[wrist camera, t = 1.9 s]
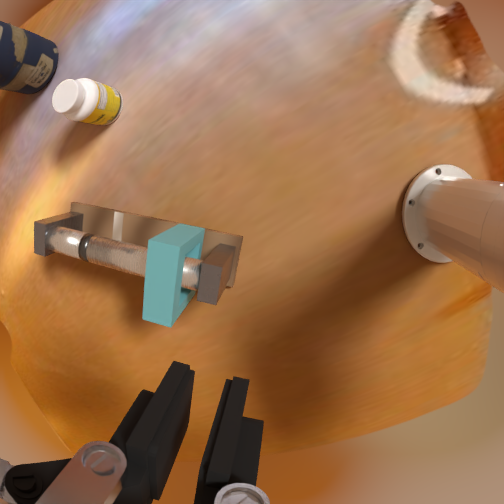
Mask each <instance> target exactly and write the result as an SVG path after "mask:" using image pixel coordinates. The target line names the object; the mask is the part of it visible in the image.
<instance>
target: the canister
mask: <svg viewBox="0 0 504 504" xmlns="http://www.w3.org/2000/svg"><path fill="white" fill-rule="evenodd" d="M57 63H58V49H57V46H56V45H55V44H54V43H53V42H52V41H50V40H48V39H45V38H43V37H41V36H39V35H37V34H35V33H32V32H30V31H27V30H25V29H21V28H18V27H15V26H13V25H11V24H10V23H4V22H2V21H0V89H2V90H8V91H14V92H20V93H25V94H31V93H35V92H37V91H39V90H41V89H42V88H43V87H44V86H45V85H46V84H47V83H48V82H49V80H50V79H51V77H52V76H53V74H54V72H55V69H56V66H57Z"/></svg>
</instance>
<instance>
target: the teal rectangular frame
mask: <svg viewBox="0 0 504 504" xmlns="http://www.w3.org/2000/svg"><path fill="white" fill-rule="evenodd" d="M204 233H205V228H200V227H195V226H190V225H186V224H181V223H180V224H178V225H176V226H174V227H172V228H170V229H168V230H166V231H164V232H162V233H160V234H158V235H157V236H155V237H153V238H151V239H149V240H148V250H147V260H146V272H145V285H144V300H143V319H144V320H147V321H150V322H154V323H157V324H160V325H164V326H167V327H172V325H173V324H174V323H175V321H176V320H177V318H178V317H179V316H180V314H181V313H182V311H183V310H184V309H185V307H186V306H187V305H188V303H189V302H190V300H191V299H192V298H193V296H194V295H195V292H196V291H195V290H191V289H187V288H183V287H181V283H182V275H183V267H184V260H185V256H186V257H191V258H195V259H199V260H200V258H201V251H202V245H203V239H204Z"/></svg>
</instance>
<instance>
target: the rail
mask: <svg viewBox="0 0 504 504" xmlns="http://www.w3.org/2000/svg"><path fill="white" fill-rule="evenodd" d="M83 215H84V214H83V213H78V212H69V213H65V214H61V215H57V216H53V217H50V218H46V219H42V220H39V221H35V222H34V253H36V254H39V255H42V256H48V255H50V254H52V253H55V252H57V253H61V254H64V255H67V256H70V257H74V258H77V259H80V260H84V261H87V262H91V263H94V264H97V265H101V266H104V267H108V268H111V269H115V270H119V271H122V272H126V273H129V274H133V275H137V276H141V277H144V278H145V272H146V260H147V250H148V247H144V246H139V245H135V244H131V243H127V242H123V241H119V240H114V239H110V238H106V237H102V236H98V235H94V234H90V233H86V232H82V231H83ZM235 251H236V247H235V246H231V245H226V244H222V243H220V244H219V245H218V246H217V247H216V248H215V249H214V250H213V251H212V253H211V254H210V255H209V256H208V257H207V258H206V259H205V260H199V259H195V258H191V257H186V256H185V260H184V267H183V275H182V283H181V287H183V288H187V289H191V290H195V291H198V295H197V301H201V302H205V303H209V304H213V305H216V304H217V302H218V301H219V299H220V297H221V295H222V293H223V291H224V289H225V287H226V285H227V283H228V281H229V279H230V277H231V272H232V267H233V261H234V256H235Z"/></svg>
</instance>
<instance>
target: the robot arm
mask: <svg viewBox="0 0 504 504" xmlns="http://www.w3.org/2000/svg"><path fill="white" fill-rule="evenodd" d="M435 170H436V171H437V173H436V172H435ZM409 200H410V201H411V203H410V204H409ZM402 222H403V227H404V232H405V234H406V236H407V239H408V241H409V242H410V244H411V246H412V247H413V248H414V249H415V250H416V251H417V252H418V253H419V254H420V255H422V256H423V257H424V258H426V259H428V260H430V261H434V262H437V263H447V262H452V261H454V262H456V263H458V264H459V265H461V266H462V267H464V268H466V269H467V270H469V271H470V272H472V273H473V274H475V275H476V276H478V277H480V278H481V279H483V280H484V281H486V282H487V283H489V284H490V285H492V286H493V287H495V288H496V289H498V290H499V291H501V292H503V293H504V182H497V181H489V180H479V179H473V178H472V177H471V176H470V175H469V174H468V173H467V172H466V171H464V170H463V169H461V168H459V167H457V166H453V165H449V164H439V165H434V166H431V167H428V168H426V169H425V170H423V171H421V172H420V173H419V174H418V175H417V176H416V177H415V178H414V179H413V181H412V182H411V184H410V185H409V187H408V189H407V192H406V194H405V198H404V201H403V208H402ZM418 244H419V246H418ZM194 374H195V371H193V370H190V365H187V364H183V363H180V362H176V361H173V363H172V364H171V366H170V368H169V369H168V371H167V373H166V375H165V376H164V378H163V380H162V381H161V383H160V385H159V387H158V388H157V390H156V392H155V393H153V392H150V391H147V390H142V391H141V392H140V394H139V395H138V397H137V398H136V400H135V401H134V403H133V405H132V406H131V408H130V409H129V411H128V413H127V414H126V416H125V417H124V419H123V420H122V422H121V424H120V425H119V427H118V428H117V430H116V432H115V433H114V435H113V436H112V438H111V440H110V441H109V443H108V442H103V441H95V442H90V443H87V444H85V445H84V446H83V447H81V448H80V449H79V450H78V452H77V453H76V454H75V455H74V457H73V458H70V459H64V460H56V461H49V462H41V463H31V464H21V465H16V466H13V465H10V463H9V462H8V461H6V460H3V459H0V504H151V503H152V501H153V499H155V500H159V499H160V497H161V495H162V492H163V489H164V487H165V484H166V482H167V479H168V477H169V474H170V472H171V469H172V466H173V464H174V461H175V459H176V456H177V454H178V451H179V449H180V446H181V443H182V441H183V438H184V436H185V433H186V431H187V427H188V423H189V416H190V407H191V399H192V390H193V382H194ZM248 385H249V380H248V379H243V378H239V377H233V380H229V379H226V382H225V385H224V389H223V392H222V395H221V399H220V402H219V405H218V409H217V412H216V415H215V419H214V422H213V425H212V429H211V432H210V435H209V439H208V442H207V445H206V448H205V452H204V455H203V458H202V462H201V466H200V470H199V475H198V482H197V488H196V494H195V500H194V504H270V502H269V499H268V497H267V495H266V494H265V493H264V492H263V491H262V490H261V489H259V488H257V487H256V480H257V473H258V465H259V457H260V449H261V441H262V433H263V424H264V422H263V421H262V420H257V419H252V418H247V417H242V416H243V411H244V406H245V401H246V395H247V390H248Z"/></svg>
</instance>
